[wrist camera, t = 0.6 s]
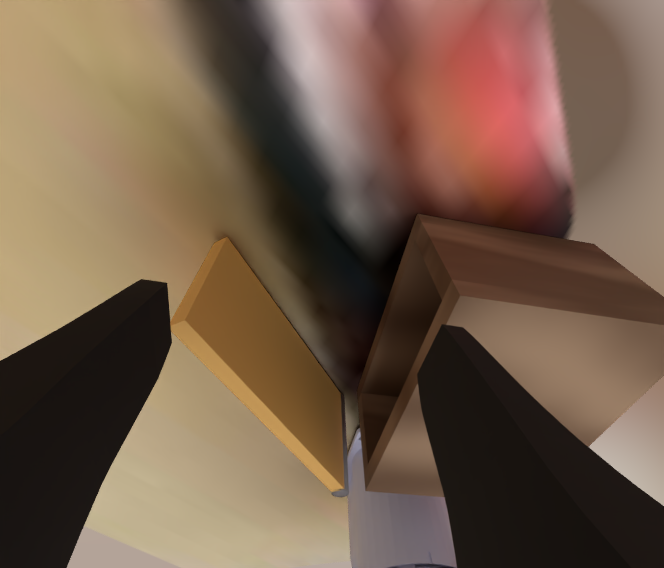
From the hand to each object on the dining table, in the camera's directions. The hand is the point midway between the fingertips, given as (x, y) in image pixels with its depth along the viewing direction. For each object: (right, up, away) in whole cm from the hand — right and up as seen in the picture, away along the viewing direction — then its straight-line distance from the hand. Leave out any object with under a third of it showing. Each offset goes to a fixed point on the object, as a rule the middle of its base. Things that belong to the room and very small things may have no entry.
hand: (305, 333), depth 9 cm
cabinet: (+9, -2, +13) cm, 16 cm away
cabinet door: (-2, -2, +13) cm, 13 cm away
